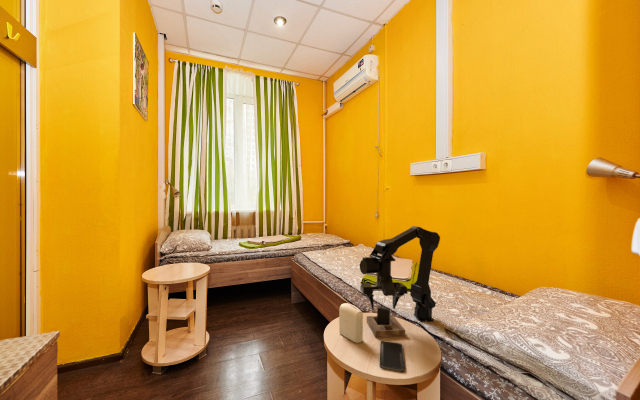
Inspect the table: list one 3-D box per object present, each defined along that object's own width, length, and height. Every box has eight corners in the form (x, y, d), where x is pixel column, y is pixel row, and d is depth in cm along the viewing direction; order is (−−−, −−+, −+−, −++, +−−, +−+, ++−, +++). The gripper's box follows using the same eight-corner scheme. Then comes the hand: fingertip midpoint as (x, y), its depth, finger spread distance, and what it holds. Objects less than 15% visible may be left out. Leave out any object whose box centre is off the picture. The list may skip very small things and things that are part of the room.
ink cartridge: (389, 326, 106) (390, 308, 106) (388, 329, 104) (389, 310, 104) (377, 324, 108) (378, 305, 108) (376, 326, 106) (377, 307, 106)
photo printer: (337, 333, 101) (337, 302, 101) (345, 329, 103) (345, 299, 103) (356, 344, 93) (357, 311, 93) (364, 340, 95) (364, 308, 95)
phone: (379, 366, 80) (380, 340, 94) (379, 369, 80) (380, 343, 94) (405, 370, 78) (402, 343, 92) (405, 374, 78) (402, 346, 92)
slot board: (393, 321, 111) (393, 315, 111) (405, 336, 99) (405, 330, 99) (366, 321, 110) (366, 316, 110) (375, 337, 98) (375, 331, 98)
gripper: (367, 278, 97) (366, 318, 97) (414, 277, 99) (413, 317, 99) (360, 270, 108) (359, 306, 108) (402, 269, 110) (401, 305, 110)
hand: (383, 308), depth 106 cm, fingers open, 9 cm apart
